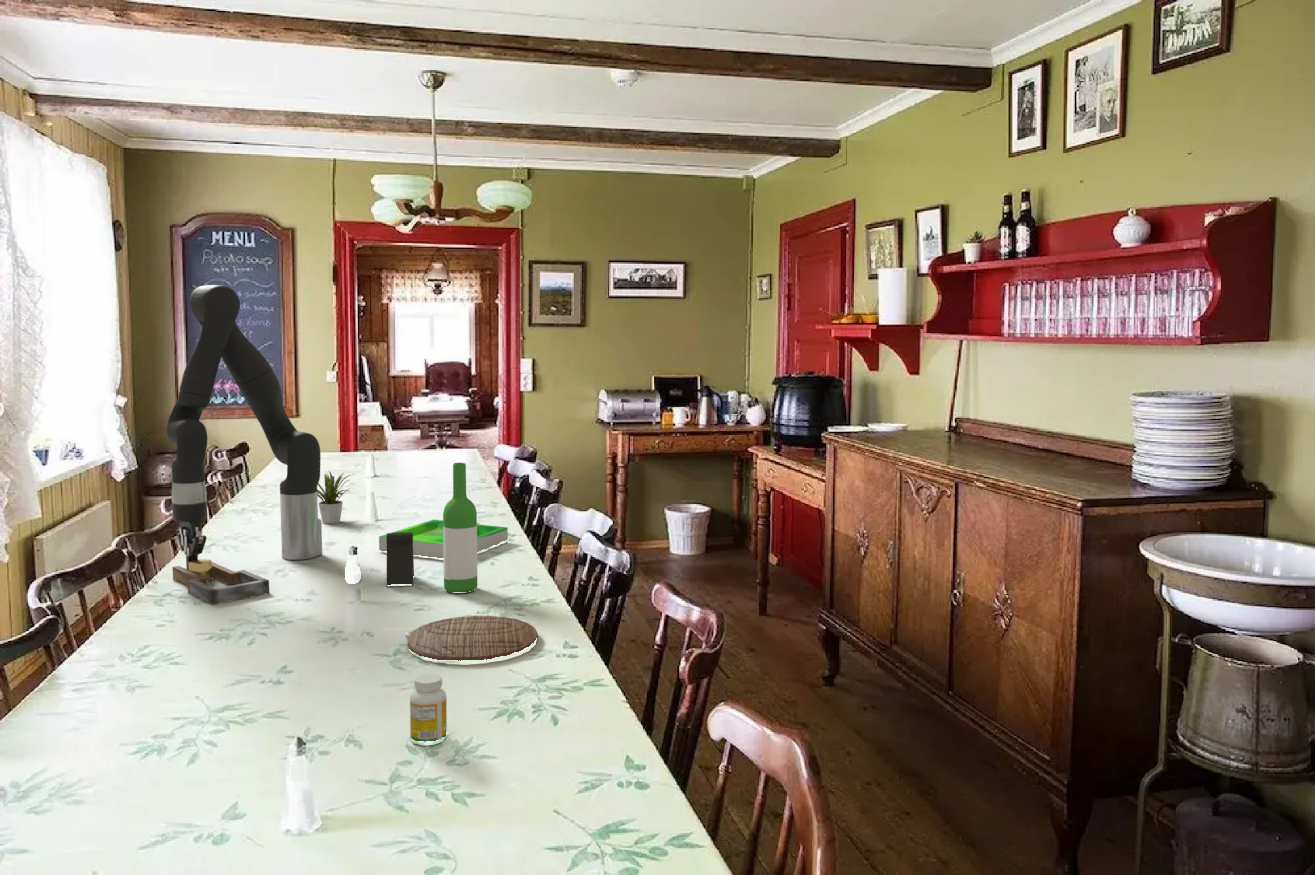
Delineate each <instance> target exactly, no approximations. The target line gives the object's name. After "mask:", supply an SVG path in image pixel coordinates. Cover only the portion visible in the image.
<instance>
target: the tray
mask: <svg viewBox="0 0 1315 875" xmlns="http://www.w3.org/2000/svg"><path fill="white" fill-rule="evenodd" d="M409 532H413V555H421V556H428V557H437V558H444V557H443V519H442V520H441V519H430V520H427V521H424V522H421V523H419V524H415V525H412V526H408V527H405V528H402V529H398V530H395V531H392V532H391V533H409ZM508 532H509V530H508V527H507V526H497V525H490V524H480V523H479V524H478V523H477V552H479V551H481V550H483V549H487V548H489V547H491V546H493V545H497V544H499V543H500V542H502V541H505V540H507V539H508V534H509V533H508ZM508 540H509V539H508ZM378 543H379V544H378V547H379V548H378V551H379V550H381V551H387V533H386V534H383V535H379V536H378Z"/></svg>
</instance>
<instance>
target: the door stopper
mask: <svg viewBox="0 0 1315 875" xmlns="http://www.w3.org/2000/svg"><path fill="white" fill-rule="evenodd" d="M386 534H387V554H386V586H387V585H391V584H413V585H414V581H413V576H414V577H415V566H414V565H415V562H414V558H415V557H413V532H409V533H392V532H387V533H386Z"/></svg>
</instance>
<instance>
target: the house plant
mask: <svg viewBox="0 0 1315 875" xmlns="http://www.w3.org/2000/svg"><path fill="white" fill-rule="evenodd" d="M328 472H329V473H328ZM328 472H327V471H325V473H324V488H325V489H324V488H323V487H322V485H321V484H320V483H318V485H317V487H319V488H320V489H321V491H320V490H319V489H318V488H317V498H318V497H319V498H320V499H321V501H319V502H318V509H319V511H320V517H321V524H325V525H332V524H333V525H334V524H339V523H341V519H342V509H343V505H344V504H343V503H344V502H343V501H341V500H340V499H341V497H342V496H343V495H344V494H345V493H346V492H350V493H351V491H350V489H353V487H350V488H348V489H342V487H343V486H344V485H345V483H347V482H348V481H350V479H347V478H348V477H350V476H355V475H356V474H355V473H353V474H349V475H347V476H344V477H343V475H345V472H343V473H341V474H340V475H339V476H338V477H337V479H336V480H335V475H332V472H331V471H330V470H328ZM346 479H347V480H346ZM344 480H346V481H344ZM343 481H344V482H343ZM342 482H343V484H342ZM341 484H342V485H341ZM338 488H339V489H338ZM339 495H340V496H339Z"/></svg>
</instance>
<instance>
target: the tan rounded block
mask: <svg viewBox="0 0 1315 875" xmlns="http://www.w3.org/2000/svg"><path fill="white" fill-rule="evenodd" d="M212 562H213V561H212V560H211V559H201V558H200V559H198V560H194V561H190V562H189V571H192V572H194V573H196V574H198V575H200V576H202V577H205V578H207V581H209V580H211V579H212V580H213V578H212ZM212 580H211V581H212ZM209 582H210V581H209Z"/></svg>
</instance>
